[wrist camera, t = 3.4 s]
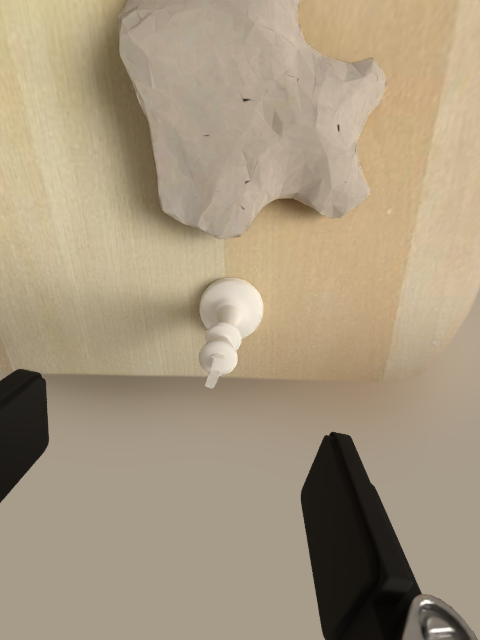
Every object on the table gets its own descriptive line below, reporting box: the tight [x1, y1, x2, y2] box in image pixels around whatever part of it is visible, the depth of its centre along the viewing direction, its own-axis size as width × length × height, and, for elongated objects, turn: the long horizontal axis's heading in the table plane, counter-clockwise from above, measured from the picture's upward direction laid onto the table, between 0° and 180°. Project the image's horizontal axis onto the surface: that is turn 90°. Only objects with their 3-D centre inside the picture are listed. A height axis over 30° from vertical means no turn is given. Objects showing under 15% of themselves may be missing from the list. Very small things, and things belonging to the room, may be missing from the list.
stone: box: [119, 0, 386, 239], centre depth 16 cm, size 14×4×15 cm
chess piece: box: [199, 278, 263, 389], centre depth 17 cm, size 5×5×10 cm
